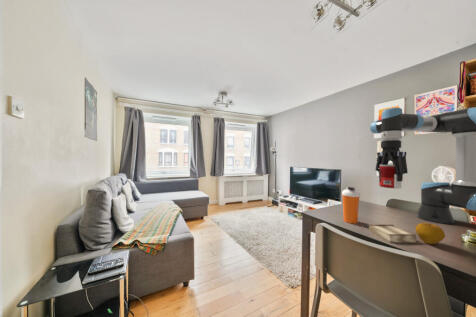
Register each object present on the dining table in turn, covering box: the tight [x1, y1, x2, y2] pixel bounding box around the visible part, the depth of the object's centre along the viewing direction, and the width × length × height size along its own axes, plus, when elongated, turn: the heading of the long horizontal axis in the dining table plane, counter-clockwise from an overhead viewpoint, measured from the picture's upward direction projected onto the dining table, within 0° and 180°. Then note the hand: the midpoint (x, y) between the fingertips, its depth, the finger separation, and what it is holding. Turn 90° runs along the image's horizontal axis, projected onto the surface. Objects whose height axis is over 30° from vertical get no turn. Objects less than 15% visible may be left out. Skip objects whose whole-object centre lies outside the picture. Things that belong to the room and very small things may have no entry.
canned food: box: [378, 164, 396, 189], centre depth 85 cm, size 8×8×11 cm
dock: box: [368, 224, 417, 243], centre depth 84 cm, size 12×12×3 cm
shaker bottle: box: [341, 186, 361, 225], centre depth 103 cm, size 9×9×20 cm
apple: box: [415, 222, 446, 245], centre depth 77 cm, size 9×9×9 cm
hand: (389, 186), depth 85 cm, fingers closed on canned food, 8 cm apart
